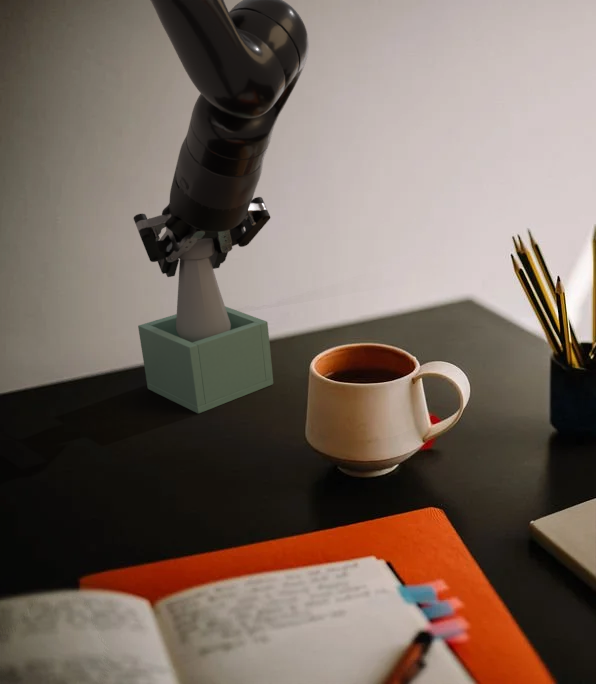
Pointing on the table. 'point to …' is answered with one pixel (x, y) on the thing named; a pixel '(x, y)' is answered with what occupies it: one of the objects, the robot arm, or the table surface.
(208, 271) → the salt shaker
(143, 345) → the green open box
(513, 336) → the table surface
